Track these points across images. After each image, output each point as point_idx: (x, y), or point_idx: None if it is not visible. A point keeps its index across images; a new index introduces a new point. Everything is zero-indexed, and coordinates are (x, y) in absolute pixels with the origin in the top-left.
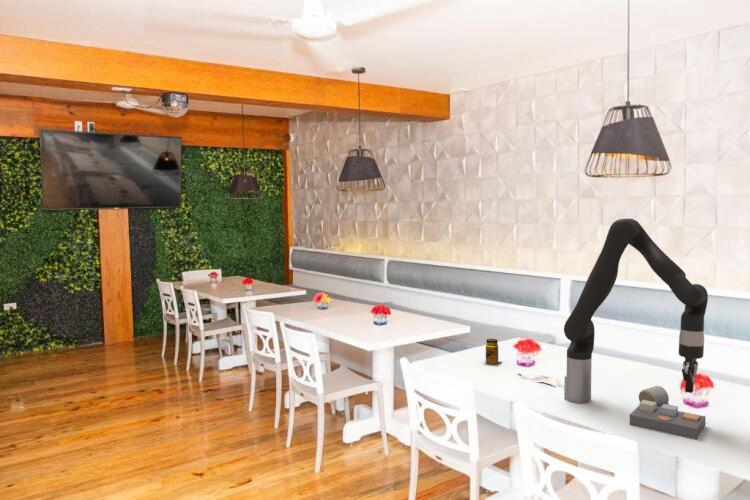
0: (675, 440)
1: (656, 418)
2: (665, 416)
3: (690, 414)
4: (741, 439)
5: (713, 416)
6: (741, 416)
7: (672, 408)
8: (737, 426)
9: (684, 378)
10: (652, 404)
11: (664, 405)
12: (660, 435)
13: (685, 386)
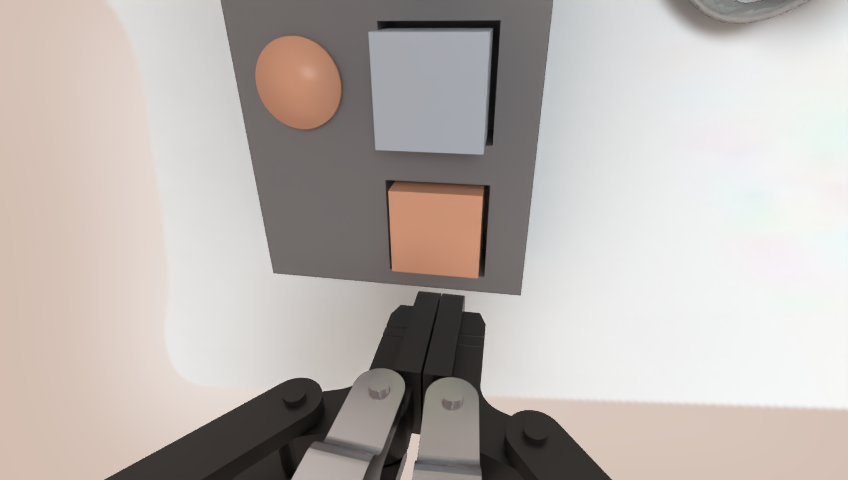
0: (212, 162)
1: (264, 29)
2: (323, 84)
3: (461, 227)
4: None
5: (745, 285)
6: (810, 400)
7: (399, 127)
8: (611, 381)
9: (237, 419)
10: None
11: (439, 49)
12: (215, 78)
13: (406, 323)
